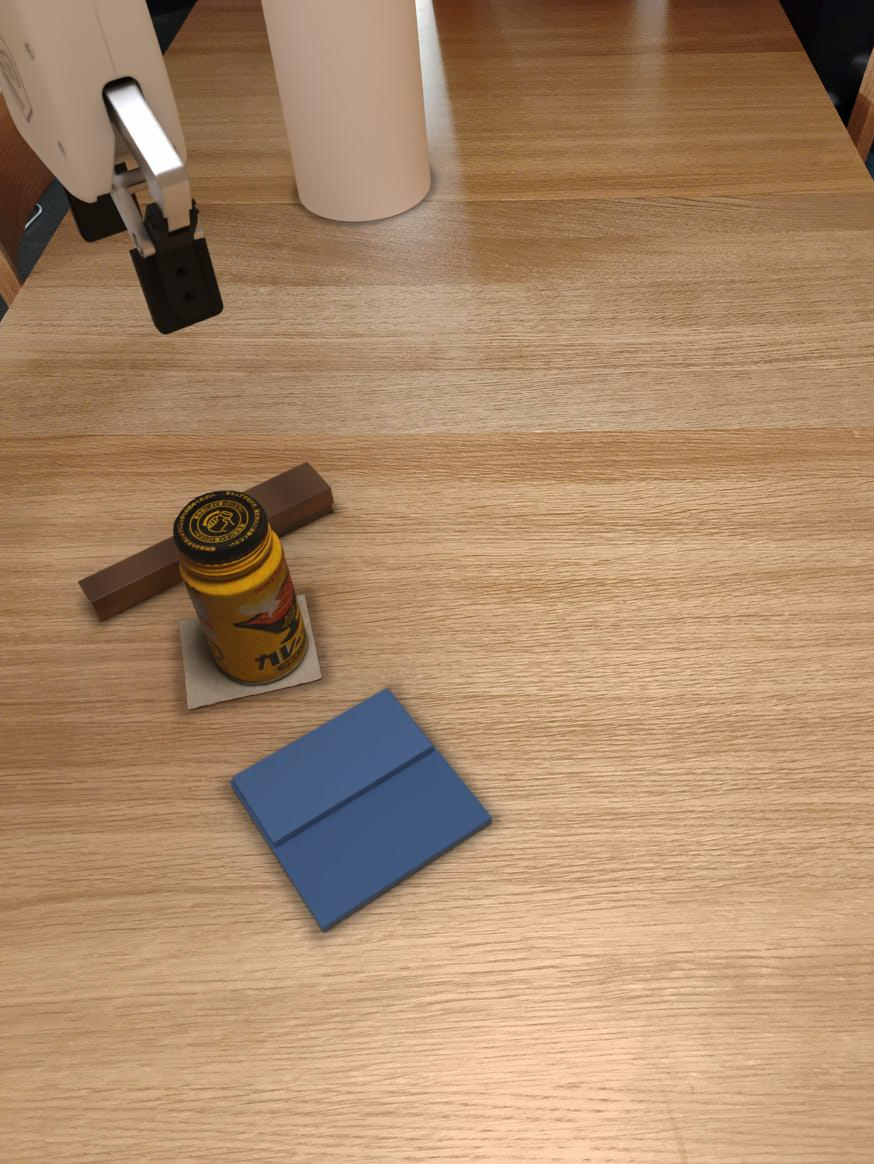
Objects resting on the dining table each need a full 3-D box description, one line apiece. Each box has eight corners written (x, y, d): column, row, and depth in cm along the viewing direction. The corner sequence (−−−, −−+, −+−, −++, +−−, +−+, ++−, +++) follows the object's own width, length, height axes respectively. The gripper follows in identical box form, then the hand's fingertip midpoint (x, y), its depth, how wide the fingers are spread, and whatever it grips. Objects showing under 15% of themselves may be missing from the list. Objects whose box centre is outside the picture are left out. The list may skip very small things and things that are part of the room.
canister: (438, 154, 106) (421, -68, 90) (421, 222, 97) (399, -10, 82) (313, 154, 107) (275, -65, 91) (285, 220, 99) (238, -8, 83)
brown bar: (103, 627, 67) (91, 604, 65) (84, 595, 69) (72, 572, 67) (336, 511, 73) (331, 487, 71) (312, 485, 75) (307, 460, 73)
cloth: (323, 932, 53) (319, 923, 52) (231, 786, 59) (226, 776, 58) (492, 822, 57) (491, 811, 56) (390, 694, 62) (387, 683, 61)
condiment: (322, 679, 63) (286, 549, 54) (188, 711, 62) (127, 583, 53) (305, 596, 68) (268, 462, 58) (179, 624, 67) (122, 492, 57)
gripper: (-161, -196, 38) (18, 225, 52) (-33, -83, 29) (145, 394, 42) (30, -231, 41) (154, 180, 54) (204, -137, 31) (302, 331, 45)
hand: (150, 274), depth 48 cm, fingers open, 9 cm apart
